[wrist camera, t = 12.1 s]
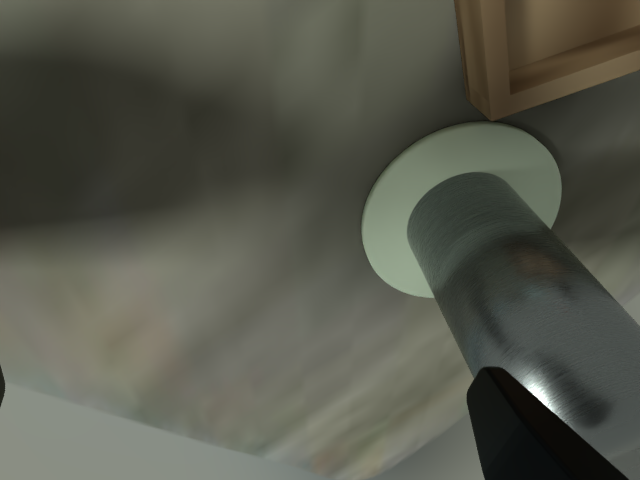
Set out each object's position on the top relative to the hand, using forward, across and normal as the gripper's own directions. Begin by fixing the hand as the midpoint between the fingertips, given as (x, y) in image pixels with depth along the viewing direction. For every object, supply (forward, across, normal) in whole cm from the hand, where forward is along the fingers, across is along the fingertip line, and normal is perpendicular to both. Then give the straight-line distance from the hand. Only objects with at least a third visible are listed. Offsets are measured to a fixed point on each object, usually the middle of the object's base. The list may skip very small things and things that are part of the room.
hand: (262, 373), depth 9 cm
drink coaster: (+13, -11, +4) cm, 17 cm away
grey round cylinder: (+13, -11, +4) cm, 17 cm away
